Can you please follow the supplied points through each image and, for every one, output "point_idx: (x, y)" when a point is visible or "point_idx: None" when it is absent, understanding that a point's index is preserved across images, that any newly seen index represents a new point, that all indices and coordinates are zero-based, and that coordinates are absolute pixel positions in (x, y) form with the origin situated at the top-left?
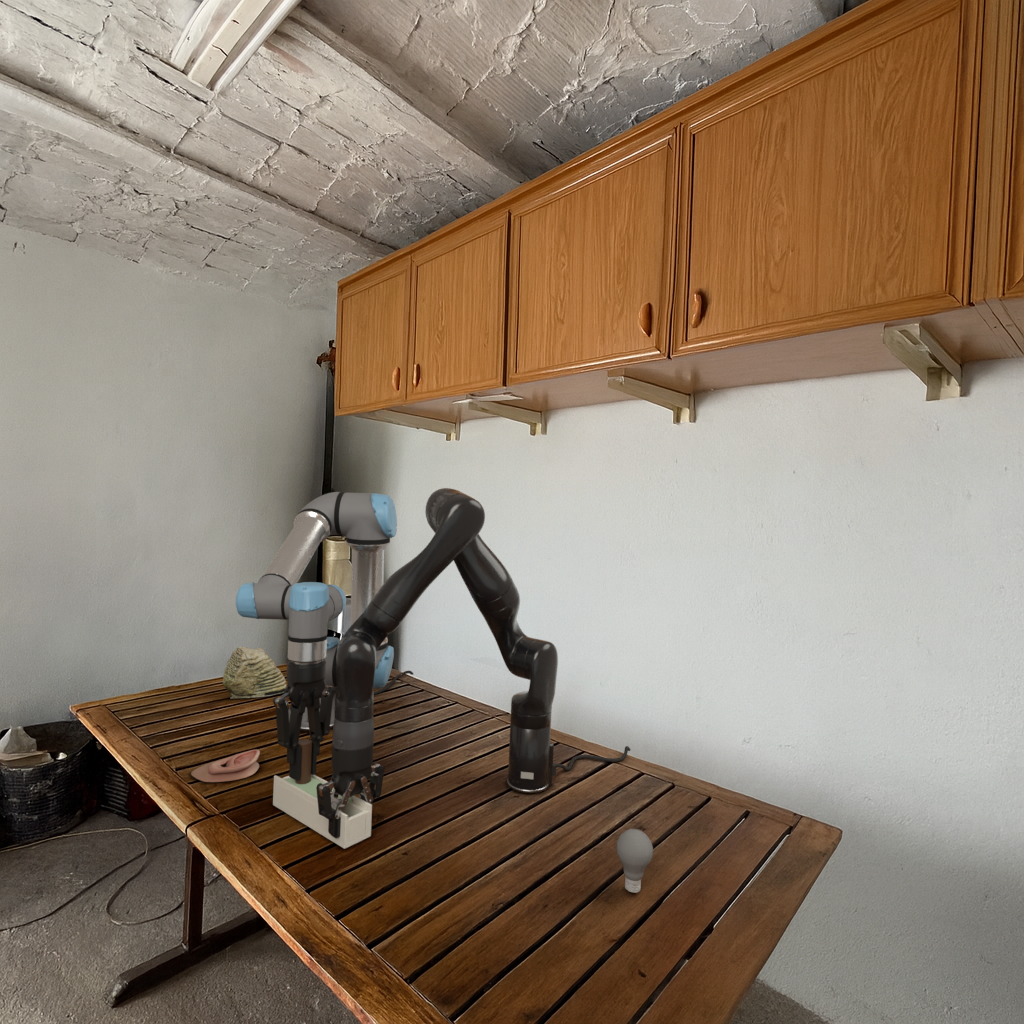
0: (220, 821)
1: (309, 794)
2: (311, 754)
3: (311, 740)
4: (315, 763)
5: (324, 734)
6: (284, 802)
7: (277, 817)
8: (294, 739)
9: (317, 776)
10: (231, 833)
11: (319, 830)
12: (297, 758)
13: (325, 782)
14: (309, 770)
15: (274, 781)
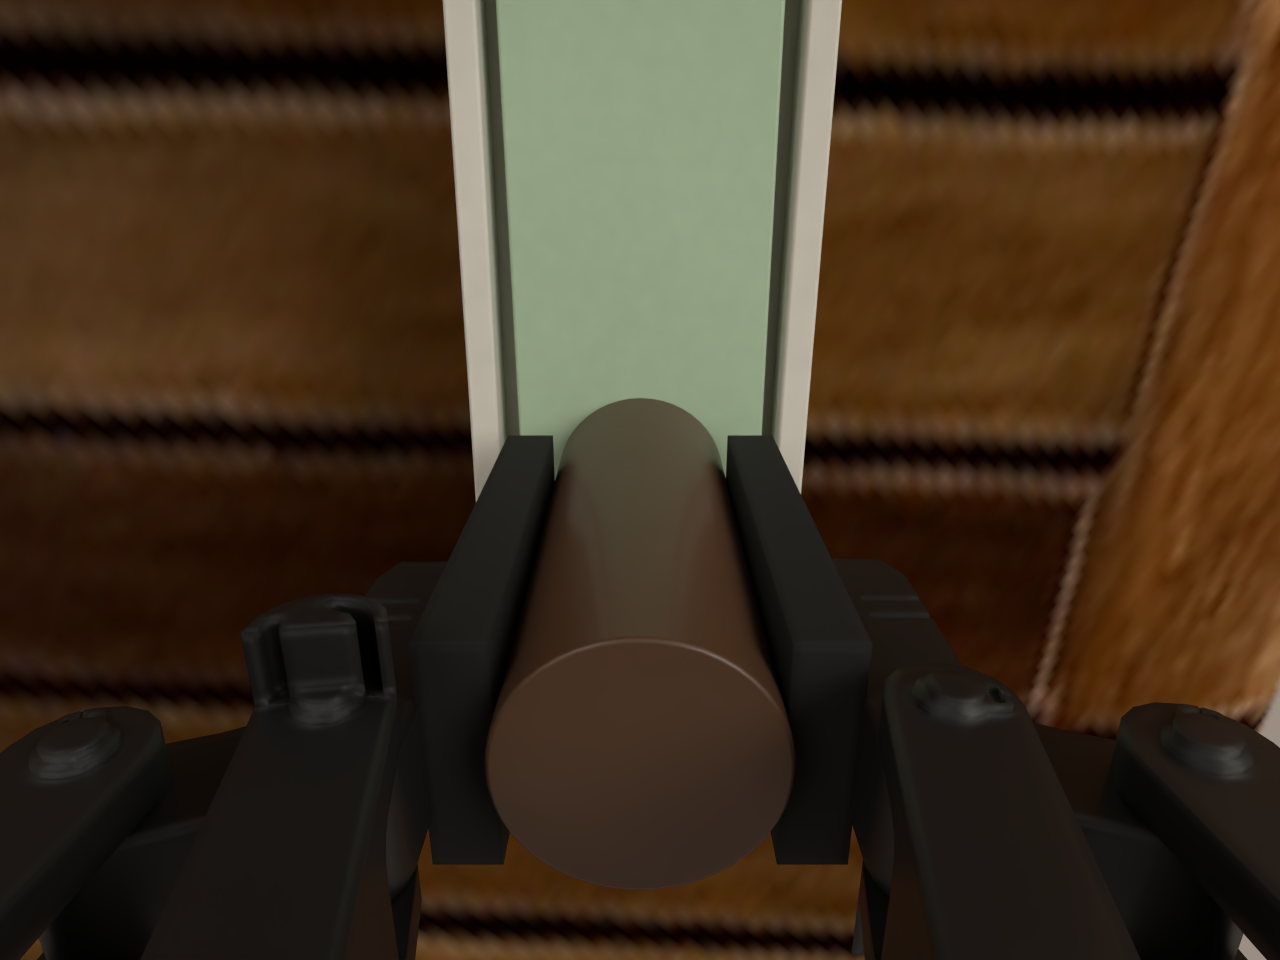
0: (1112, 642)
1: (814, 104)
2: (557, 550)
3: (494, 738)
4: (500, 483)
5: (160, 731)
6: None
7: (838, 422)
8: (1039, 805)
9: (474, 449)
10: (1185, 452)
11: None
12: (827, 555)
13: (488, 254)
14: (612, 444)
15: None
